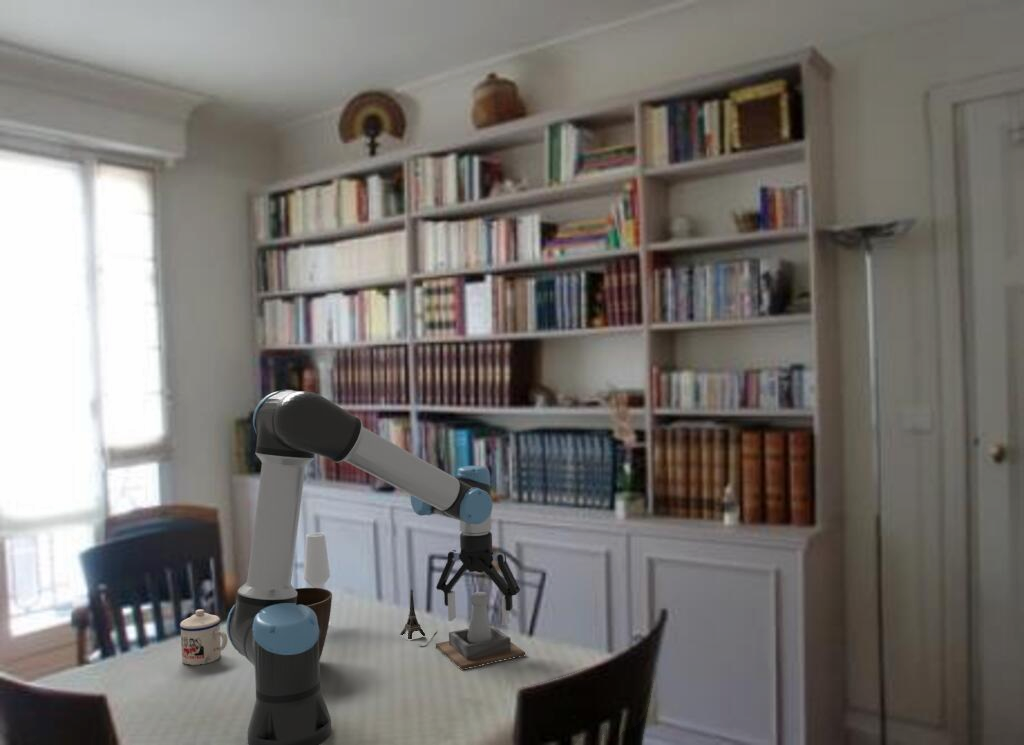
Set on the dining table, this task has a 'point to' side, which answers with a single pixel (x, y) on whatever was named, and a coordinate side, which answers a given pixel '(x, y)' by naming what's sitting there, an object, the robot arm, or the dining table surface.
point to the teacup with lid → (201, 638)
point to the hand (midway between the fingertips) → (478, 621)
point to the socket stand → (478, 649)
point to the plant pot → (317, 608)
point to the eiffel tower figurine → (412, 620)
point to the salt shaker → (479, 619)
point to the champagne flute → (316, 561)
